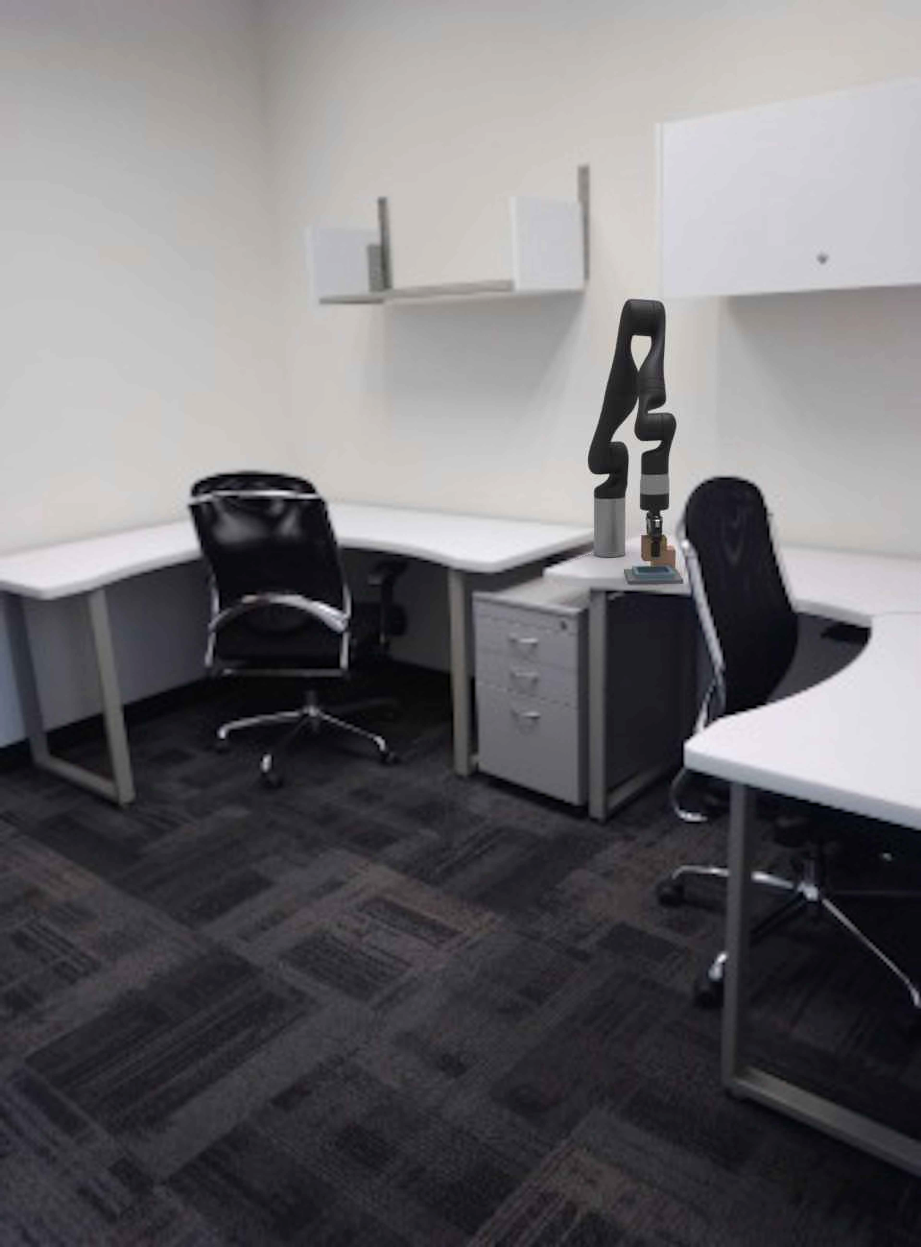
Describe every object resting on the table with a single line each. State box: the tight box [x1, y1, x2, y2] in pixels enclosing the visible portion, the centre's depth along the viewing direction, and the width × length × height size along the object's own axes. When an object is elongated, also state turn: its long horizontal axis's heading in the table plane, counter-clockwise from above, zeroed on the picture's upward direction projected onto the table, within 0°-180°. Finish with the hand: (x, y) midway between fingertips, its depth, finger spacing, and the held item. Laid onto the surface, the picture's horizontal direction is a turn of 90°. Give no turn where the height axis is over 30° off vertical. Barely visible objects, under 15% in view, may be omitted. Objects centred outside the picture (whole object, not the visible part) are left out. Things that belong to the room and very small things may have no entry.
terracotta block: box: [649, 545, 676, 568], centre depth 268 cm, size 6×6×6 cm
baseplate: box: [623, 565, 684, 585], centre depth 259 cm, size 14×14×2 cm
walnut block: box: [640, 533, 668, 562], centre depth 257 cm, size 6×6×6 cm
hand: (653, 554), depth 257 cm, fingers closed on walnut block, 6 cm apart
